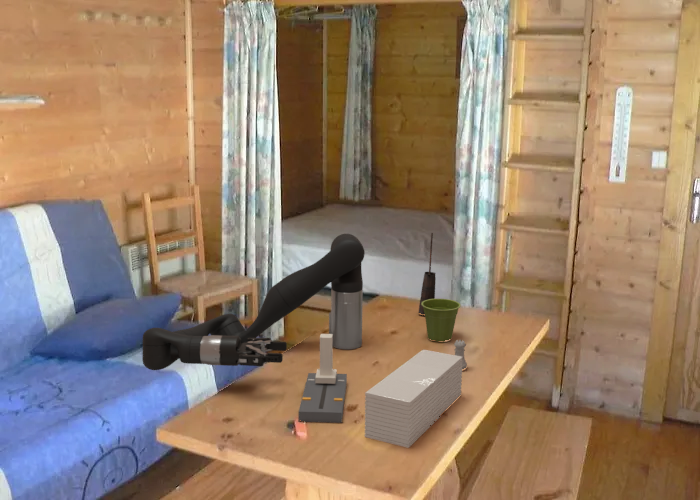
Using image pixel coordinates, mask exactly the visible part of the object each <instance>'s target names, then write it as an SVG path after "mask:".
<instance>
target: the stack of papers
mask: <svg viewBox="0 0 700 500" xmlns="http://www.w3.org/2000/svg"><path fill="white" fill-rule="evenodd" d="M462 360H463V357H461V356H456V355H455V354H449V353H445V352H438V351H433V350H429V349H428V350H427V349H422V350H421V351H419V352H417V353H416V354H415V355H414V356H412V357H411V358H410V359H408V360H407V361H406V362H404V363H402V365H401V366H399V367H397V368H396V369H395V370H393V371H392V372H391V373H389V374H388V375H387V376H386V377H384V378H383V379H382V380H380V381H379V382H378V383H376V384H375V385H374V386H372V387H371V388H369V389H368V390H367V391H365V392H364V396H365V397H364V438H367V439H371V440H375V441H379V442H383V443H387V444H392V445H395V446H399V447H402V448H403V447H404V448H406V449H407V448H408V449H409V448H410V447H411V446H412V445H413V444H415V442H416V441H417V440H418V439H419V438H420V437H421V436H422V435H423V434H425V432H426V431H428V430H429V429H430V428H431V426H433V425H434V423H435V422H436V421H437V420H439V418H440V417H441V416H440V415H441V414H442V413H443V412H444V411H445V410H446V409H447V408H448V407H449V406H450V405H451V404H452V403H453V402H454V401H455V400H456V399H457V398H458V397H459V396H460V395H461V396H462V381H463V380H462V379H463V371H462ZM439 416H440V417H439ZM436 419H437V420H436ZM434 421H435V422H434ZM430 425H431V426H430Z"/></svg>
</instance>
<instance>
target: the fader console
mask: <svg viewBox="0 0 700 500" xmlns="http://www.w3.org/2000/svg"><path fill="white" fill-rule="evenodd" d="M316 373H317V372H308V373H307V377H306V380H305V386H304V388H303V393H302V397H301V401H300V404H299V407H298V421H299V420H301V421H305V422H304V423H333V424H334V423H336V424H339V423H341V424H342V423H343V416H344V408H345V407H344V406H345V399H346V391H347V384H348V383H347V382H348V381H347V380H348V379H347V378H348V377H347V376H348V374H347V373H337V376H336V382H335V384H328V383H315V377H316Z"/></svg>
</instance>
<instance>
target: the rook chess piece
mask: <svg viewBox="0 0 700 500" xmlns="http://www.w3.org/2000/svg"><path fill="white" fill-rule="evenodd" d="M453 346H454V347H455V348H454V355H456V356H461V357H463V360H462V369H464V368H466V367H467V366H468V363H467V362H466V358H465V351H466V350H465V347H466V346H467V344H466V343H465V340H463V339H459V340H458V339H456V340H455V341H454V343H453Z"/></svg>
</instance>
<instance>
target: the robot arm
mask: <svg viewBox="0 0 700 500" xmlns="http://www.w3.org/2000/svg"><path fill="white" fill-rule="evenodd" d="M365 254H366V253H365V248H364V245H363V243H361V241H360V240H359V238H358V237H356V236H355V235H353V234H351V233H341V234H339V235H336V237H335V238H334V239H333V240H332V242H331V244H330V250H329V252H328V253H326V254H325V255H324V256H323V257H321V258H320V259H318V260H317V261H316V262H315V263H312V264H311V265H309V266H306V267H304V268H301V269H299V270H296V271H294V272H292V273H290V274H289V275H287V276H285V277H284V278H283V279H281V280H280V281H278V282H277V283H275V284H274V285H273V286H271V287H270V289H269V290H268V292H267V293H266V295H265V297H264V300H263V303H262V305H261V308H260V310H259V312H258V314H257V316H256V318H255V319H254V321H253V322H252V323H251V324H250V325H249V327H247V328H246V329H245V327H244V325H243V324H242V323H241V321H240V319H239V318H238V316H236V314H234V313H225V314H221V315H219V316H217V317H214V318H212V319H209V320H207V321H204V322H202V323H200V324H198V325H196V326H192V327H189V328H183V329H179V330H178V329H177V330H174V331H171V330H167V329H165V328H162V327H151V328H149V329H147V330H145V331H144V332H143V334H142V356H141V357H142V364H143V366H144V367H145V368H146V369H148V370H150V371H160V370H164V369H166V368H168V367H169V366H171V365H173V364H174V363H175V362H176V361H177V360H179V361H180V362H181V363H183V364H189V365H191V364H192V365H194V364H196V365H198V364H199V365H206V366H207V365H208V366H226V367H227V366H231V367H234V366H235V367H238V366H244V367H245V366H246V367H247V366H249V367H263V366H264V365H265V364H268V363H273V364H274V363H276V364H278V363H280V364H281V363H283V359H284V358H283V353H281V352H283V351H287V349H288V348H287V347H288V346H287V344H288V343H287V342H286V341H273V340H272V339H271V338H270V337H259V336H261V335H262V333H264V332H265V331H266V330H268V329H269V328H271V327H272V326H273V325H274V324H276V323H277V322H279V321H280V320H282V319H283V318H285V317H286V316H287V315H289V314H290V313H292V312H294V311H295V310H296V309H298V308H299V307H300V306H302V305H303V304H305V303H306V302H307V301H308V300H310V299H311V298H312V297H314V296H315V295H317V294H318V293H319V292H320V291H321V290H323V289H324V288H325V287H326V286H328V285H329V284H330V283H331V284H330V285H331V286H330V288H331V289H330V290H331V292H330V293H331V301H330V302H331V303H330V304H331V305H330V307H331V309H330V311H329V313H328V334H333V348H336V349H340V350H354V349H358V348H361V347H362V346H363V293H364V292H363V289H364V288H363V287H364V285H363V284H364V283H363V273H362V262H363V261H364V258H365ZM270 351H273V352H270ZM274 351H275V352H274ZM276 351H279V352H276Z"/></svg>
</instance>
